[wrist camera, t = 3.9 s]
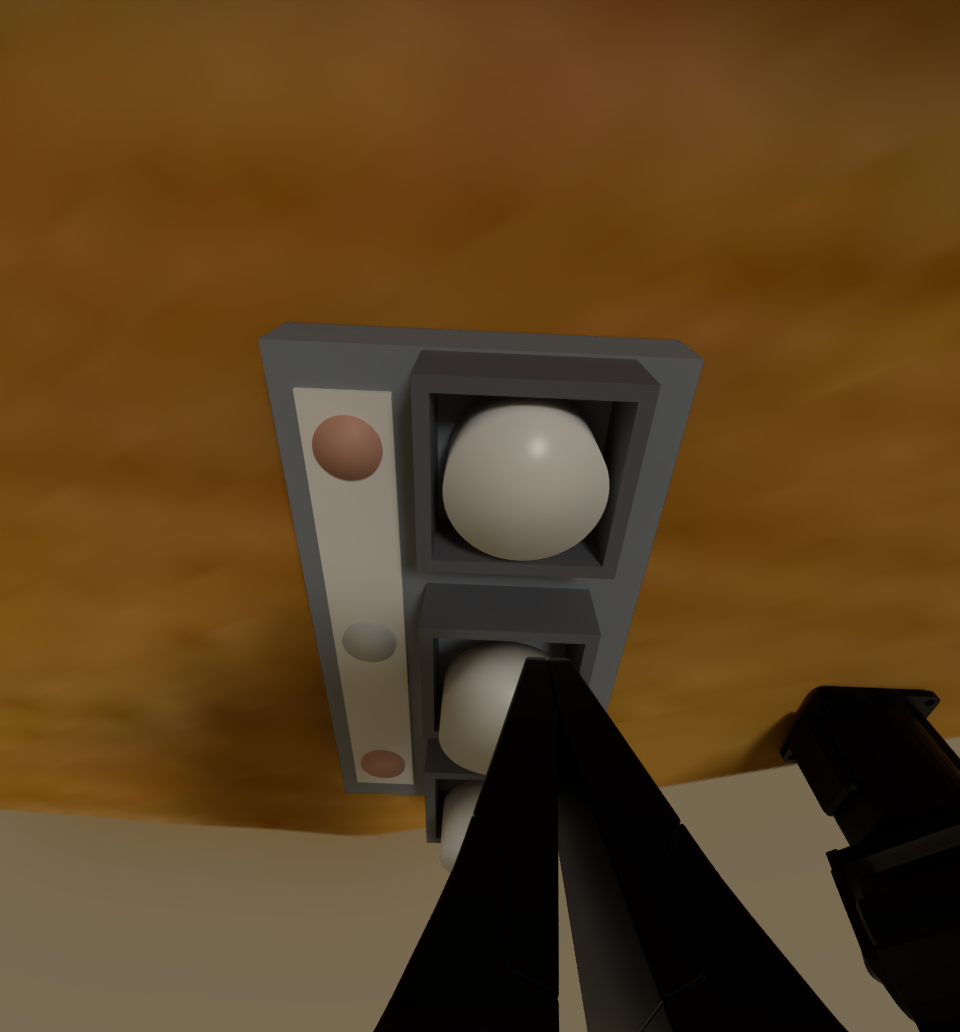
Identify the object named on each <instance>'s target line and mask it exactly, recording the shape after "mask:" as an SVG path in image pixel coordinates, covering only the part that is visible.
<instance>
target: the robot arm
mask: <svg viewBox="0 0 960 1032" xmlns="http://www.w3.org/2000/svg"><path fill="white" fill-rule="evenodd" d="M939 702H940V699H939V698H938V696H937V695H936V694H935V693H934V692H933V691H923V690H898V689H873V688H849V687H824V688H821V689H820V690H818V691H817V693H816V694H815V696H814V698H813V699H812V701H811V702H810V704H809V706H808V707H807V709H806V710H805V712H804V714H803V715H802V717H801V719H800V720H799V722H798V723H797V725H796V727H795V728H794V730H793V732H792V733H791V735H790V736H789V738H788V740H787V741H786V743H785V745H784V746H783V748H782V749H781V751H780V754H781V756H782V758H783V760H784V761H785V762H793V763H797V764H798V765H799V767H800V769H801V771H802V773H803V774H804V776H805V778H806V780H807V782H808V784H809V786H810V787H811V789H812V791H813V793H814V795H815V796H816V798H817V800H818V802H819V804H820V806H821V808H822V809H823V811H824V812H825V813H826V814H827V815H828V816H834V818H835V820H836V822H837V823H838V825H839V827H840V829H841V831H842V832H843V834H844V836H845V838H846V840H847V841H848V843H849V845H850V846H849V847H846V848H843V849H841V850H837V849H834V850H831V851H828V852H826V855H827V858H828V861H829V863H830V866H831V868H832V870H831V873H832V876H833V878H834V881H835V884H836V886H837V889H838V891H839V894H840V896H841V899H842V902H843V904H844V907H845V910H846V912H847V915H848V917H849V920H850V922H851V925H852V928H853V930H854V933H855V935H856V938H857V940H858V943H859V946H860V948H861V952H862V956H863V960H864V964H865V966H866V968H867V970H868V972H869V973H870V975H871V976H872V977H873V978H874V979H875V980H877V981H878V982H880V983H881V984H883V985H884V987H885V988H886V990H887V991H888V992H889V994H890V995H891V997H892V998H893V1000H894V1001H895V1002H896V1004H897V1005H898V1006H899V1007H900V1009H902V1011H903V1012H904V1013H905V1014H906V1015H907V1016H908V1017H909V1018H910V1019H911V1020H912V1021H914V1022H915V1023H916V1025H917V1027H918V1029H919V1031H920V1032H960V758H959V757H958V756H957V755H956V754H955V752H954V751H953V750H952V749H951V748H950V746H949V745H948V744H947V743H946V742H945V740H944V739H943V738H942V737H941V736H940V734H939V733H938V732H937V731H936V730H935V729H934V727H933V726H932V725H931V724H930V723H929V721H928V720H927V719H926V718H927V717H928V716H929V715H930V713H931V712H932V711H933V710H934V709H935V707H936V706H937V705H938V704H939ZM558 851H559V857H560V863H561V870H562V876H563V882H564V888H565V895H566V901H567V907H568V913H569V919H570V925H571V932H572V938H573V944H574V950H575V956H576V963H577V969H578V975H579V981H580V987H581V993H582V1000H583V1006H584V1012H585V1018H586V1024H587V1031H588V1032H848V1031H847V1030H846V1028H845V1027H844V1026H843V1025H842V1024H841V1023H840V1022H839V1021H838V1020H837V1019H836V1017H835V1016H834V1015H833V1014H832V1013H831V1011H830V1010H829V1009H828V1008H827V1007H826V1006H825V1004H824V1003H823V1002H822V1001H821V1000H820V998H819V997H818V996H817V995H816V993H815V992H814V991H813V990H812V989H811V987H810V986H809V985H808V984H807V982H806V981H805V980H804V979H803V978H802V977H801V975H800V974H799V973H798V972H797V970H796V969H795V968H794V967H793V965H792V964H791V963H790V962H789V961H788V959H787V958H786V957H785V956H784V955H783V953H782V952H781V951H780V950H779V949H778V947H777V946H776V945H775V944H774V943H773V941H772V940H771V939H770V938H769V936H768V935H767V934H766V933H765V931H764V930H763V929H762V928H761V927H760V925H759V924H758V923H757V922H756V920H755V919H754V918H753V917H752V916H751V914H750V913H749V912H748V911H747V909H746V908H745V907H744V906H743V904H742V903H741V902H740V900H739V899H738V898H737V897H736V895H735V894H734V893H733V892H732V890H731V889H730V888H729V887H728V885H727V884H726V883H725V882H724V880H723V879H722V878H721V876H720V875H719V873H718V872H717V871H716V870H715V868H714V867H713V865H712V864H711V862H710V861H709V860H708V858H707V857H706V855H705V854H704V853H703V851H702V850H701V849H700V847H699V846H698V844H697V843H696V841H695V840H694V838H693V837H692V836H691V834H690V833H689V831H688V830H687V828H686V827H685V826H684V825H683V824H680V819H679V817H678V816H677V814H676V813H675V811H674V810H673V808H672V807H671V805H670V804H669V802H668V801H667V800H666V798H665V797H664V795H663V794H662V792H661V791H660V789H659V788H658V786H657V785H656V784H655V782H654V781H653V779H652V778H651V776H650V775H649V773H648V772H647V770H646V769H645V768H644V766H643V765H642V763H641V762H640V760H639V759H638V757H637V756H636V755H635V753H634V752H633V750H632V749H631V747H630V746H629V744H628V743H627V741H626V740H625V739H624V737H623V736H622V734H621V733H620V731H619V730H618V728H617V727H616V726H615V724H614V723H613V721H612V720H611V718H610V717H609V715H608V714H607V712H606V711H605V710H604V708H603V707H602V705H601V704H600V702H599V701H598V699H597V698H596V696H595V695H594V694H593V692H592V691H591V689H590V688H589V686H588V685H587V683H586V682H585V681H584V679H583V678H582V676H581V675H580V673H579V672H578V670H577V669H576V667H575V666H574V665H573V663H572V662H571V661H570V660H569V659H568V658H552V657H551V658H549V659H548V660H547V659H546V658H545V657H527V658H526V659H525V662H524V665H523V668H522V671H521V673H520V676H519V679H518V682H517V685H516V688H515V691H514V694H513V697H512V700H511V703H510V706H509V709H508V712H507V715H506V717H505V720H504V723H503V726H502V729H501V732H500V735H499V738H498V741H497V744H496V747H495V750H494V753H493V756H492V759H491V761H490V764H489V767H488V770H487V773H486V776H485V779H484V782H483V785H482V788H481V791H480V794H479V797H478V800H477V803H476V805H475V808H474V811H473V816H472V817H471V819H470V822H469V825H468V828H467V831H466V834H465V837H464V840H463V842H462V845H461V848H460V850H459V853H458V856H457V858H456V861H455V864H454V866H453V869H452V871H451V874H450V876H449V878H448V880H447V882H446V885H445V887H444V889H443V891H442V894H441V896H440V898H439V900H438V903H437V905H436V907H435V909H434V911H433V913H432V915H431V917H430V920H429V921H428V923H427V926H426V928H425V929H424V932H423V934H422V936H421V938H420V940H419V942H418V944H417V946H416V948H415V950H414V952H413V954H412V956H411V958H410V960H409V962H408V964H407V966H406V968H405V970H404V973H403V975H402V977H401V979H400V981H399V983H398V985H397V987H396V989H395V991H394V993H393V995H392V998H391V999H390V1001H389V1003H388V1005H387V1007H386V1009H385V1011H384V1013H383V1015H382V1016H381V1018H380V1020H379V1022H378V1024H377V1026H376V1028H375V1029H374V1031H373V1032H559V1003H558V995H559V939H558V938H559V934H558V933H559V929H558V928H559V927H558V922H559V918H558Z"/></svg>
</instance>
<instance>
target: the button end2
mask: <svg viewBox="0 0 960 1032" xmlns="http://www.w3.org/2000/svg"><path fill="white" fill-rule="evenodd" d="M483 782H484V780H472V781H468V782H465V783H463V784H460V785H458V786H456V787H455V788H453V789H452V790H451V791H450V792H449V793H448V794H447V795H446V797H445V799H444V807H443V820H442V833H441V847H440V862H441V864H442V865H443V867H444V868H445V869H446V870H448V871H449V872H450V873H451V871H452V869H453V866H454V864H455V861H456V858H457V856H458V853H459V850H460V848H461V845H462V842H463V840H464V837H465V834H466V831H467V828H468V825H469V822H470V819H471V817H472V816H473V811H474V808H475V805H476V803H477V800H478V797H479V794H480V791H481V788H482V785H483Z"/></svg>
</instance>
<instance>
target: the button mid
mask: <svg viewBox="0 0 960 1032" xmlns="http://www.w3.org/2000/svg"><path fill="white" fill-rule="evenodd" d="M527 657H545V658H546V659H547V660H548V659H549V658H551V656H550V655H549V654H547V653H546V652H544V651H542V650H540V649H538V648H536V647H533V646H530V645H527V644H523V643H517V642H492V643H487V644H482V645H479V646H476V647H473V648H471V649H469V650H467V651H465V652H463V653H462V654H460V655H459V656H458V657H456V658H455V659H454V660H453V661H452V663H451V664H450V665H449V667H448V669H447V671H446V673H445V677H444V687H443V697H442V708H441V719H440V729H439V742H440V745H441V748H442V749H443V751H444V753H445V754H446V755H447V756H448V757H449V758H450V759H451V760H452V761H453V762H455V763H456V764H458V765H459V766H461V767H463V768H465V769H467V770H470V771H473V772H476V773H479V774H484V775H486V773H487V770H488V767H489V764H490V761H491V759H492V756H493V753H494V750H495V747H496V744H497V741H498V738H499V735H500V732H501V729H502V726H503V723H504V720H505V717H506V715H507V712H508V709H509V706H510V703H511V700H512V697H513V694H514V691H515V688H516V685H517V682H518V679H519V676H520V673H521V671H522V668H523V665H524V662H525V659H526V658H527ZM552 658H553V657H552Z"/></svg>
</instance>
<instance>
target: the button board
mask: <svg viewBox="0 0 960 1032" xmlns="http://www.w3.org/2000/svg"><path fill="white" fill-rule="evenodd" d="M258 340H259V345H260V350H261V356H262V361H263V366H264V371H265V376H266V382H267V387H268V392H269V397H270V402H271V408H272V413H273V418H274V423H275V428H276V434H277V439H278V444H279V449H280V454H281V460H282V465H283V470H284V475H285V480H286V486H287V491H288V496H289V501H290V506H291V512H292V517H293V522H294V527H295V532H296V538H297V543H298V548H299V553H300V558H301V564H302V569H303V574H304V579H305V584H306V590H307V595H308V600H309V605H310V610H311V616H312V621H313V626H314V631H315V636H316V642H317V647H318V652H319V657H320V662H321V668H322V673H323V678H324V683H325V688H326V694H327V699H328V704H329V709H330V714H331V720H332V725H333V730H334V735H335V740H336V746H337V751H338V756H339V761H340V766H341V772H342V777H343V782H344V787H345V792H349V793H375V794H401V795H425V806H426V834H427V843H441V833H442V820H443V807H444V799H445V797H446V795H447V794H448V793H449V792H450V791H451V790H452V789H453V788H455V787H456V786H458V785H460V784H463V783H465V782H468V781H472V780H484V779H485V776H486V775H484V774H479V773H476V772H473V771H470V770H467V769H465V768H463V767H461V766H459V765H458V764H456V763H455V762H453V761H452V760H451V759H450V758H449V757H448V756H447V755H446V754H445V753H444V751H443V749H442V748H441V745H440V742H439V729H440V719H441V708H442V697H443V687H444V677H445V673H446V671H447V669H448V667H449V665H450V664H451V663H452V661H453V660H454V659H455V658H456V657H458V656H459V655H460V654H462V653H463V652H465V651H467V650H469V649H471V648H473V647H476V646H479V645H482V644H487V643H492V642H517V643H523V644H527V645H530V646H533V647H536V648H538V649H540V650H542V651H544V652H546V653H547V654H549V655H550V656H551V657H553V658H568V659H569V660H570V661H571V662H572V663H573V665H574V666H575V667H576V669H577V670H578V672H579V673H580V675H581V676H582V678H583V679H584V681H585V682H586V683H587V685H588V686H589V688H590V689H591V691H592V692H593V694H594V695H595V696H596V698H597V699H598V701H599V702H600V704H601V705H602V707H603V708H604V710H605V711H606V710H607V706H608V703H609V699H610V696H611V692H612V688H613V685H614V681H615V678H616V674H617V670H618V667H619V663H620V660H621V656H622V652H623V649H624V645H625V642H626V638H627V634H628V631H629V627H630V624H631V620H632V616H633V613H634V609H635V606H636V602H637V599H638V595H639V591H640V588H641V584H642V581H643V577H644V573H645V570H646V566H647V563H648V559H649V555H650V552H651V548H652V545H653V541H654V537H655V534H656V530H657V527H658V523H659V519H660V516H661V512H662V509H663V505H664V501H665V498H666V494H667V491H668V487H669V484H670V480H671V476H672V473H673V469H674V466H675V462H676V458H677V455H678V451H679V448H680V444H681V440H682V437H683V433H684V430H685V426H686V422H687V419H688V415H689V412H690V408H691V404H692V401H693V397H694V394H695V390H696V386H697V383H698V379H699V376H700V372H701V368H702V365H703V361H704V359H703V358H702V357H700V356H699V355H698V354H696V353H695V352H694V351H692V350H691V349H690V348H688V347H687V346H686V345H684V344H683V343H682V342H680V341H679V340H661V339H640V338H618V337H596V336H574V335H552V334H530V333H508V332H486V331H464V330H442V329H420V328H398V327H376V326H354V325H332V324H310V323H288V322H286V323H284V324H282V325H281V326H279V327H277V328H276V329H274V330H272V331H271V332H269V333H267V334H266V335H264V336H262V337H261V338H259V339H258ZM486 396H510V397H532V398H555V399H566V400H567V401H569V402H570V403H571V404H573V405H574V406H575V407H576V408H577V409H578V410H579V411H580V412H581V414H582V415H583V417H584V418H585V419H586V421H587V423H588V425H589V427H590V429H591V432H592V434H593V436H594V438H595V441H596V443H597V445H598V447H599V450H600V452H601V454H602V457H603V459H604V461H605V464H606V467H607V470H608V476H609V495H608V500H607V504H606V507H605V510H604V512H603V514H602V516H601V518H600V520H599V521H598V523H597V525H596V526H595V527H594V528H593V529H592V531H591V532H590V533H589V534H588V535H587V536H586V537H585V538H584V539H583V540H581V541H580V542H579V543H577V544H576V545H574V546H573V547H571V548H569V549H568V550H566V551H564V552H561V553H559V554H557V555H554V556H551V557H547V558H543V559H538V560H529V561H517V560H508V559H503V558H498V557H495V556H492V555H489V554H487V553H485V552H483V551H480V550H479V549H477V548H475V547H474V546H472V545H471V544H470V543H468V542H467V541H466V540H465V539H464V538H463V537H462V536H461V535H460V534H459V533H458V532H457V530H456V529H455V528H454V527H453V525H452V523H451V521H450V520H449V518H448V515H447V513H446V510H445V506H444V501H443V481H444V474H445V468H446V462H447V456H448V450H449V445H450V440H451V437H452V434H453V432H454V429H455V427H456V425H457V424H458V422H459V420H460V419H461V418H462V416H463V415H464V414H465V413H466V412H467V411H468V410H469V409H470V408H471V407H472V406H473V405H474V404H476V403H477V402H478V401H479V400H481V399H483V398H485V397H486Z"/></svg>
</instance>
